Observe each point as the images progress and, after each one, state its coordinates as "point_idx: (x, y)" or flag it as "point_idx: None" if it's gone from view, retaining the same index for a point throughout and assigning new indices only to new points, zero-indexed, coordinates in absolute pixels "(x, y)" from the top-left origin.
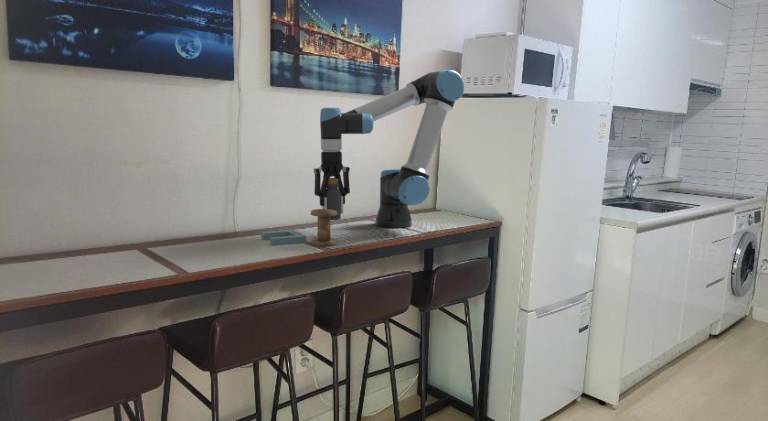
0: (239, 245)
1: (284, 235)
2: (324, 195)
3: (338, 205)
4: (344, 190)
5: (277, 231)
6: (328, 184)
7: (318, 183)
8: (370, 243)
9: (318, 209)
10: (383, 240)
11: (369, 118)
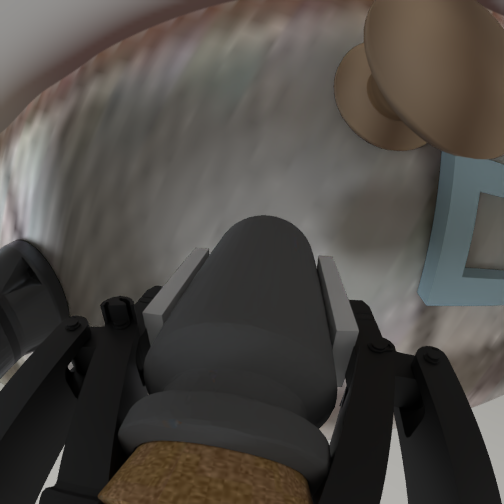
0: None
1: (466, 271)
2: (363, 348)
3: (229, 248)
4: (97, 345)
5: (482, 294)
6: (321, 460)
7: (474, 457)
8: (203, 21)
9: (476, 144)
10: (131, 59)
11: None
